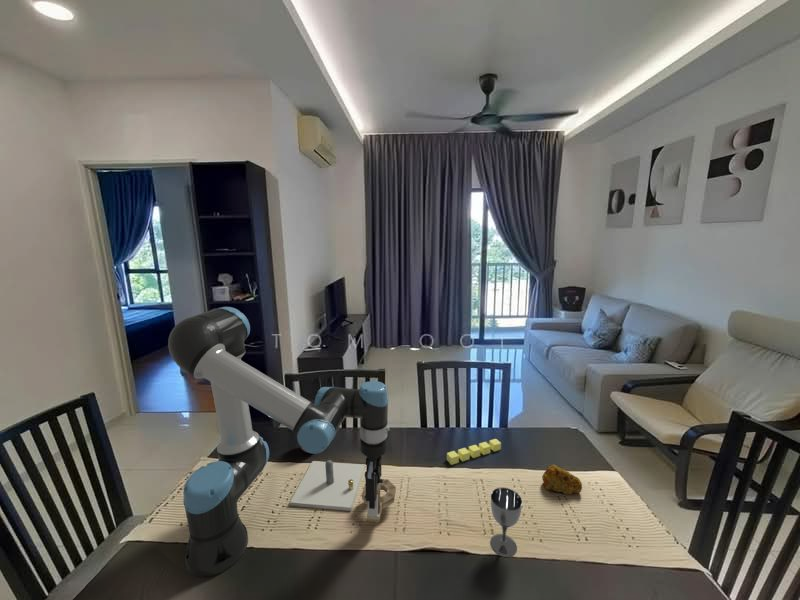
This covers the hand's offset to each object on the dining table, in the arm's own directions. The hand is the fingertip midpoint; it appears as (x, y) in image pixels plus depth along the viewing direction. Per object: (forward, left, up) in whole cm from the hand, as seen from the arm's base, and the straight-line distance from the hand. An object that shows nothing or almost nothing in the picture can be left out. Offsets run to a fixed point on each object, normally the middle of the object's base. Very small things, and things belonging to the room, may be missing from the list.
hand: (374, 509), depth 99 cm
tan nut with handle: (+6, 0, -3) cm, 6 cm away
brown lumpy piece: (+22, -59, -7) cm, 64 cm away
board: (+15, +18, -6) cm, 25 cm away
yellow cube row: (+38, -31, -7) cm, 49 cm away
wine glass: (-2, -37, -6) cm, 37 cm away
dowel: (+13, +11, -6) cm, 18 cm away
